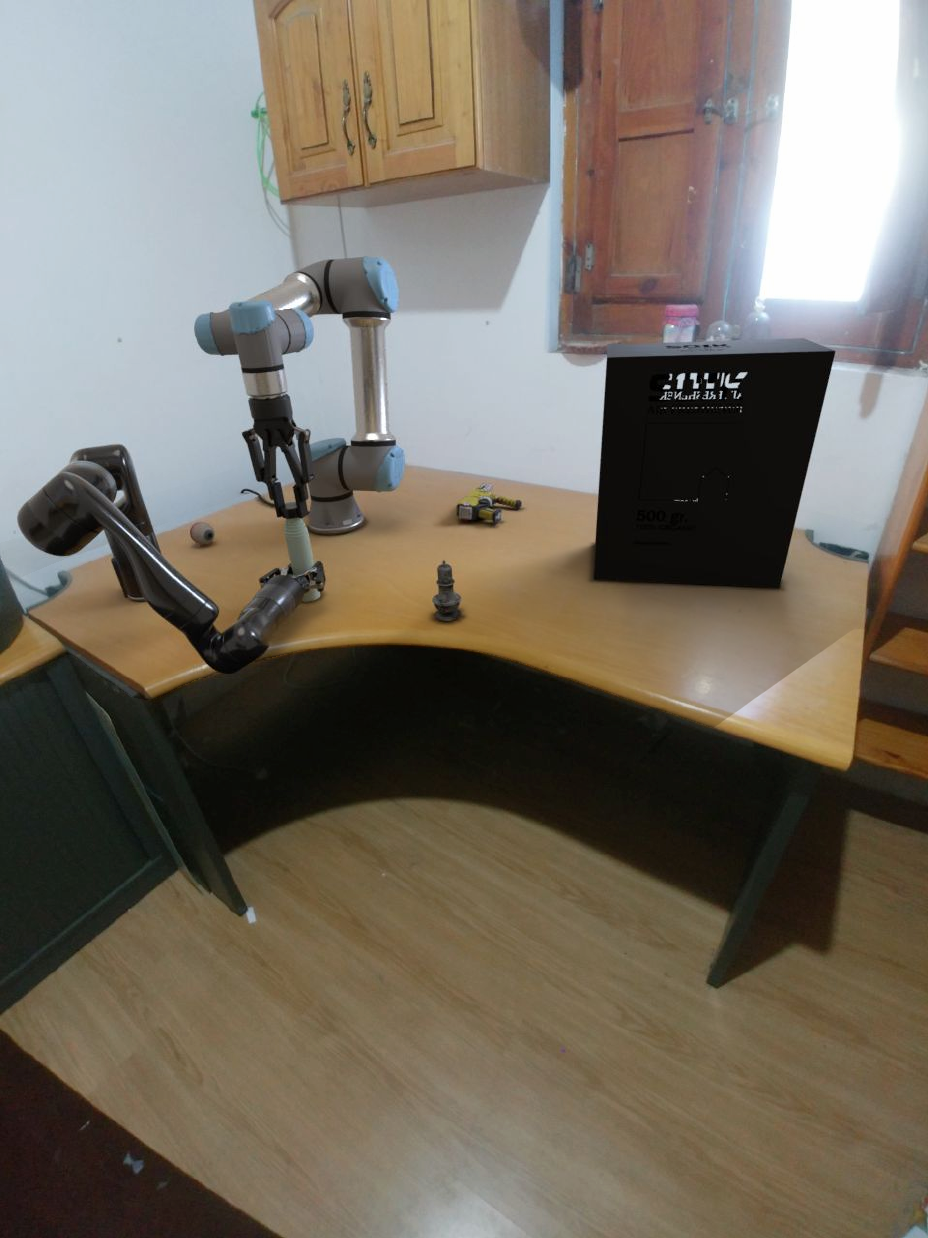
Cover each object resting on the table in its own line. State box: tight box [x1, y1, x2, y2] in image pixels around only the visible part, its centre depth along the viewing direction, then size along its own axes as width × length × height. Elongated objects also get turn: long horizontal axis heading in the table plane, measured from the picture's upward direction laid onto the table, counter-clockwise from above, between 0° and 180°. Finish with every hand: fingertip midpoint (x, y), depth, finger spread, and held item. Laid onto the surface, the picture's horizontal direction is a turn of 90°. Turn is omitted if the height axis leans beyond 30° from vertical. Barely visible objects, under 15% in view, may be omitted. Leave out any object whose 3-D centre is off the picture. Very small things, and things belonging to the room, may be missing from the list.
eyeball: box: [189, 521, 215, 546], centre depth 160 cm, size 6×6×6 cm
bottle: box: [284, 517, 321, 603], centre depth 127 cm, size 5×5×20 cm
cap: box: [280, 501, 299, 520], centre depth 122 cm, size 4×4×2 cm
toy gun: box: [455, 482, 523, 525], centre depth 172 cm, size 5×24×15 cm
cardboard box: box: [592, 337, 836, 589], centre depth 125 cm, size 38×20×45 cm, turn 78°
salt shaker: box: [431, 560, 462, 622], centre depth 119 cm, size 6×6×12 cm
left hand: (308, 564), depth 131 cm, fingers closed on bottle, 4 cm apart
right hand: (292, 515), depth 123 cm, fingers closed on cap, 4 cm apart
